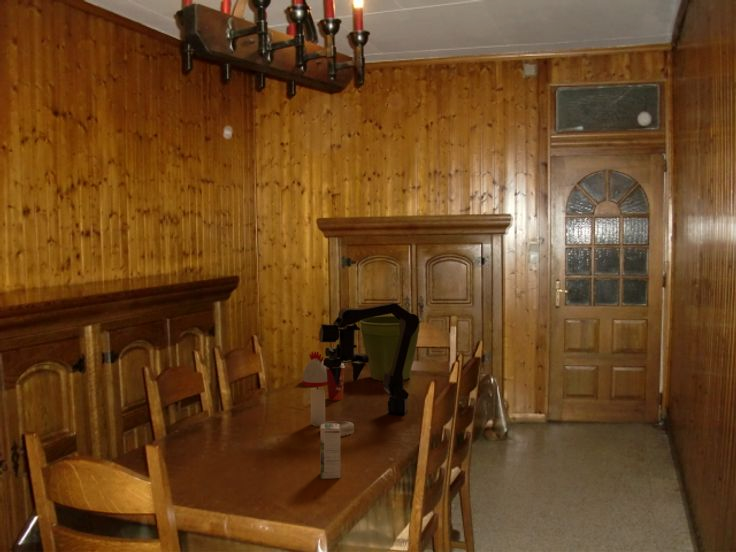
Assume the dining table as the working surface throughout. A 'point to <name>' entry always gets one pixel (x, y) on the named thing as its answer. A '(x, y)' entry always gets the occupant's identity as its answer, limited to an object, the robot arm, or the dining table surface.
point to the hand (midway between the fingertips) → (345, 383)
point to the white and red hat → (315, 371)
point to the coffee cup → (335, 390)
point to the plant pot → (385, 345)
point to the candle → (317, 406)
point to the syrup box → (330, 451)
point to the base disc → (343, 427)
